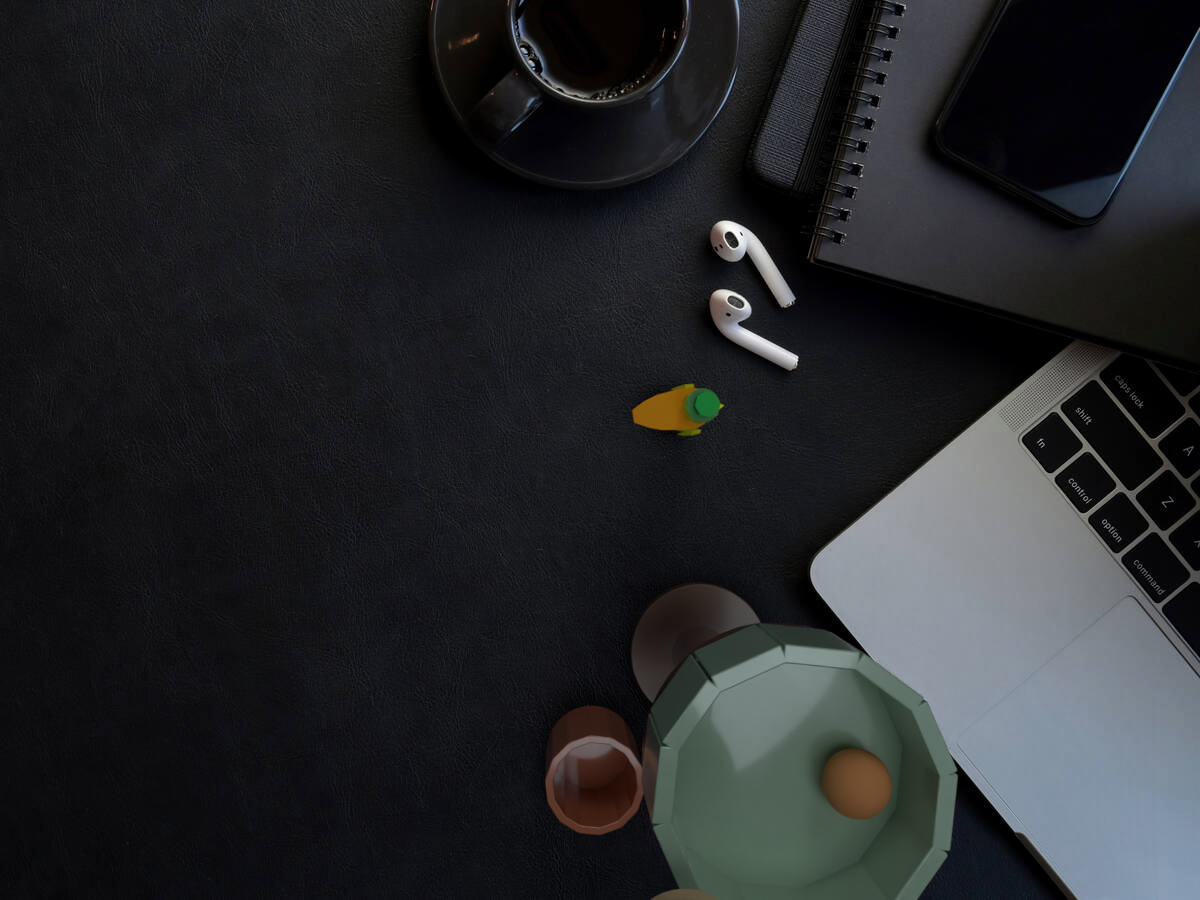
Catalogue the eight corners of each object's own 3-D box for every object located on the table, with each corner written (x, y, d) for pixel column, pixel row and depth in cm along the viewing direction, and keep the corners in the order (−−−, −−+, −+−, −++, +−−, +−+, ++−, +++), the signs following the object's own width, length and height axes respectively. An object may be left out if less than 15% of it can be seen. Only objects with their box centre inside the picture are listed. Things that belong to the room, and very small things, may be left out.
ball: (874, 807, 43) (898, 833, 40) (810, 801, 43) (829, 827, 40) (881, 742, 43) (905, 764, 40) (817, 736, 43) (837, 757, 40)
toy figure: (627, 444, 68) (642, 442, 56) (620, 396, 68) (633, 383, 56) (717, 431, 69) (751, 426, 57) (710, 383, 69) (743, 368, 57)
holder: (630, 797, 68) (639, 838, 61) (541, 788, 68) (539, 829, 61) (639, 709, 68) (650, 741, 61) (551, 701, 68) (550, 731, 61)
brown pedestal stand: (772, 743, 69) (895, 906, 44) (603, 727, 68) (629, 882, 43) (790, 573, 69) (923, 639, 44) (621, 555, 68) (659, 612, 43)
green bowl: (895, 906, 44) (938, 964, 39) (629, 882, 43) (639, 938, 38) (923, 639, 44) (970, 663, 39) (659, 612, 43) (672, 632, 38)
